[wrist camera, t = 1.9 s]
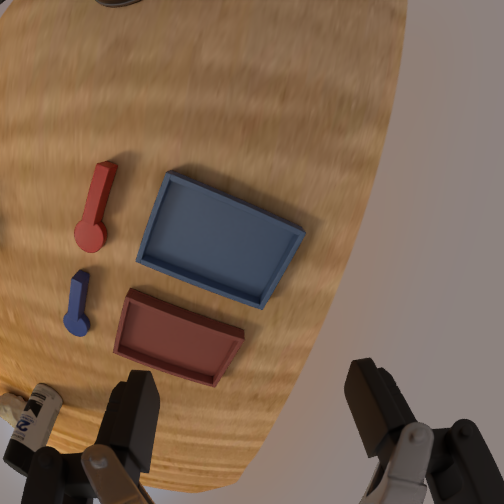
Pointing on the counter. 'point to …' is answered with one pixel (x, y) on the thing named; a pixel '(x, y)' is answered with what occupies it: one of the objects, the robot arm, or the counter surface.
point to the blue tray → (217, 241)
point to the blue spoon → (77, 305)
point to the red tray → (175, 339)
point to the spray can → (33, 428)
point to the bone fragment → (11, 408)
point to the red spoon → (95, 209)
